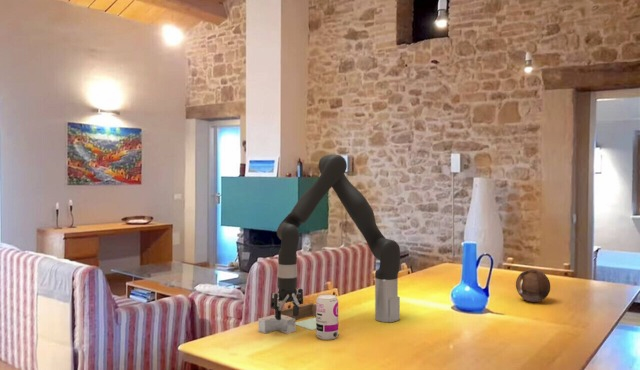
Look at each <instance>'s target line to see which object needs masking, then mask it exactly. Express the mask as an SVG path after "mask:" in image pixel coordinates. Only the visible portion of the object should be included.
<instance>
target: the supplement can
mask: <svg viewBox="0 0 640 370" xmlns="http://www.w3.org/2000/svg"><path fill="white" fill-rule="evenodd" d="M315 302H316V303H315V304H316V317H315V318H316V330H315V331H316V337H317V338H318V339H320V340H324V341H329V340H330V341H331V340H334V339H337V337H338V336H339V299H338V297H337V295H334V294H320V295H317V298H316V301H315Z"/></svg>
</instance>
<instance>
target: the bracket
mask: <svg viewBox="0 0 640 370" xmlns="http://www.w3.org/2000/svg"><path fill="white" fill-rule="evenodd" d="M295 323H296V320H295V318H292V317H288V316H285V315H282V314H281V320H276V318H275V314H272V315H271V314H270V315H268V316H263V317H259V318H258V332H259V333H262V334H268V333H269V334H270V333H273V332H276V331H278V332H281V333H284V334H291V333H295V332H296V325H295Z"/></svg>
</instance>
